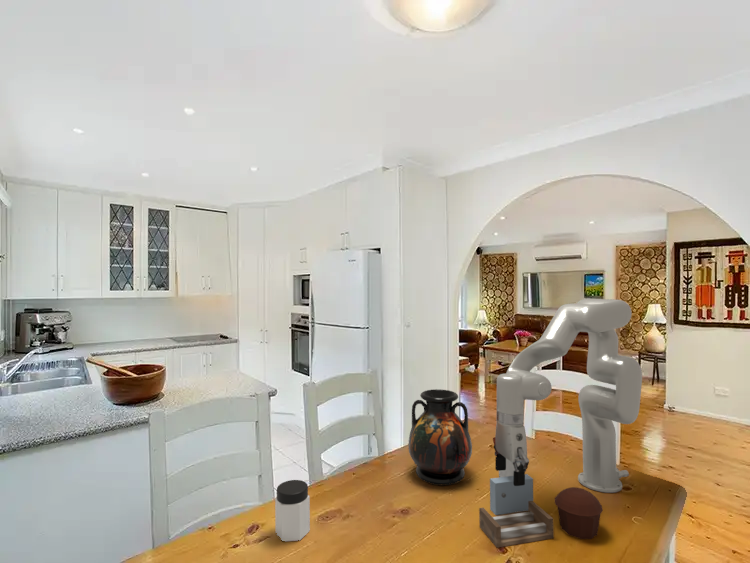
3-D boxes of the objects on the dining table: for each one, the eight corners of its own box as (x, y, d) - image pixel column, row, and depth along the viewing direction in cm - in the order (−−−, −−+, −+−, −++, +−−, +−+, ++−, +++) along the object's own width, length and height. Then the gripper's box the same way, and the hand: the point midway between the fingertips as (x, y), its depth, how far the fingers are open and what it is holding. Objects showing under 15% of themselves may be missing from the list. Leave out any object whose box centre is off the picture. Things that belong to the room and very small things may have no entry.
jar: (310, 522, 113) (310, 478, 113) (308, 540, 104) (308, 493, 105) (277, 524, 112) (277, 480, 112) (273, 543, 104) (272, 495, 104)
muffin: (575, 546, 101) (575, 505, 101) (545, 521, 112) (544, 484, 112) (613, 537, 105) (613, 498, 105) (580, 514, 115) (580, 478, 115)
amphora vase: (403, 487, 132) (402, 400, 132) (413, 459, 153) (412, 384, 153) (472, 494, 127) (471, 404, 127) (472, 465, 147) (471, 387, 148)
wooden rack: (532, 518, 113) (532, 500, 113) (553, 538, 104) (553, 518, 104) (479, 526, 110) (479, 508, 110) (496, 547, 101) (496, 527, 101)
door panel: (527, 504, 121) (526, 474, 121) (534, 510, 117) (533, 479, 117) (490, 509, 118) (489, 478, 118) (496, 516, 115) (495, 484, 115)
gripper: (539, 426, 110) (539, 490, 110) (505, 408, 127) (505, 463, 127) (514, 428, 109) (514, 493, 108) (483, 409, 126) (483, 465, 125)
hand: (509, 477), depth 118 cm, fingers open, 9 cm apart
